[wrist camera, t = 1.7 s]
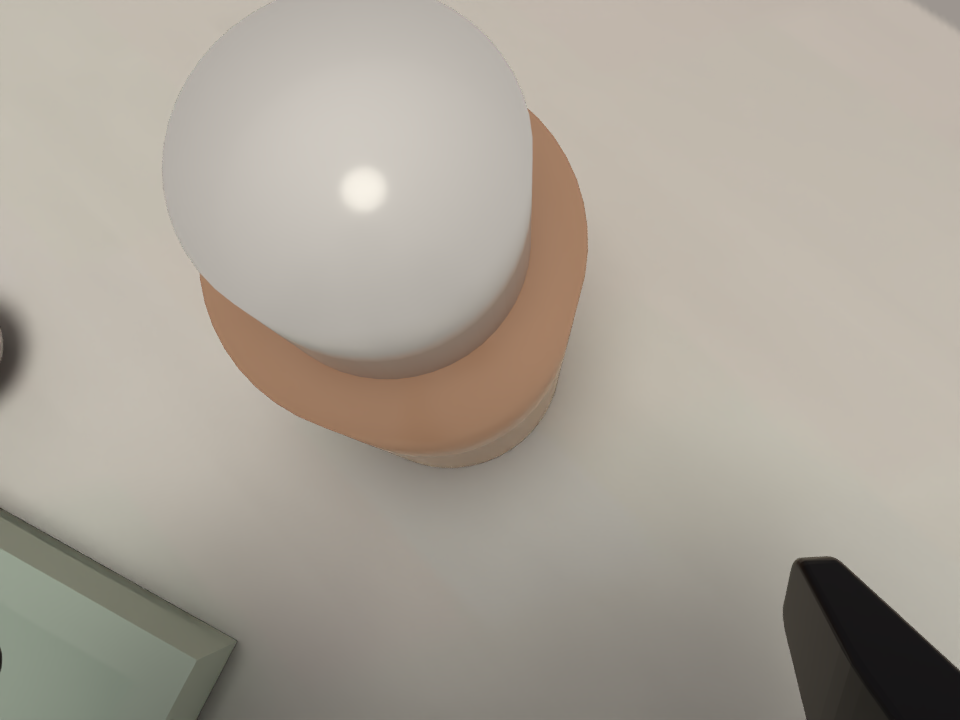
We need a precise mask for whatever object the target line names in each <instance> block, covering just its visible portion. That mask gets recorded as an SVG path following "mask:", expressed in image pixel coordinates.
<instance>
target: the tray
mask: <svg viewBox="0 0 960 720" xmlns="http://www.w3.org/2000/svg"><path fill="white" fill-rule="evenodd" d="M236 643H237V641H236V640H235V639H233V638H231V637H229V636H227V635H226V634H224V633H222V632H220V631H218V630H217V629H215V628H213V627H211V626H210V625H208V624H206V623H204V622H202V621H201V620H199V619H197V618H195V617H193V616H192V615H190V614H188V613H186V612H185V611H183V610H181V609H179V608H177V607H176V606H174V605H172V604H170V603H169V602H167V601H165V600H163V599H161V598H160V597H158V596H156V595H154V594H152V593H151V592H149V591H147V590H145V589H144V588H142V587H140V586H138V585H136V584H135V583H133V582H131V581H129V580H127V579H126V578H124V577H122V576H120V575H119V574H117V573H115V572H113V571H111V570H110V569H108V568H106V567H104V566H103V565H101V564H99V563H97V562H95V561H94V560H92V559H90V558H88V557H86V556H85V555H83V554H81V553H79V552H78V551H76V550H74V549H72V548H70V547H69V546H67V545H65V544H63V543H61V542H60V541H58V540H56V539H54V538H53V537H51V536H49V535H47V534H45V533H44V532H42V531H40V530H38V529H37V528H35V527H33V526H31V525H29V524H28V523H26V522H24V521H22V520H20V519H19V518H17V517H15V516H13V515H12V514H10V513H8V512H6V511H4V510H3V509H1V508H0V647H1V651H2V668H1V672H0V720H196V719H197V717H198V715H199V713H200V711H201V709H202V707H203V705H204V703H205V701H206V700H207V698H208V696H209V694H210V692H211V690H212V688H213V686H214V684H215V682H216V681H217V679H218V677H219V675H220V673H221V671H222V669H223V667H224V665H225V663H226V662H227V660H228V658H229V656H230V654H231V652H232V650H233V648H234V646H235V644H236Z"/></svg>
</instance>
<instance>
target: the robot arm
mask: <svg viewBox="0 0 960 720" xmlns="http://www.w3.org/2000/svg"><path fill="white" fill-rule="evenodd" d="M783 621H784V628H785V632H786V636H787V641H788V645H789V649H790V653H791V657H792V661H793V665H794V670H795V674H796V678H797V682H798V686H799V690H800V694H801V699H802V703H803V707H804V711H805V715H806V719H807V720H960V670H959V669H958V668H957V667H955V666H954V665H953V664H952V663H951V662H950V661H949V660H948V659H947V658H946V657H945V656H943V655H942V654H941V653H940V652H939V651H938V650H937V649H936V648H935V647H934V646H933V645H931V644H930V643H929V642H928V641H927V640H926V639H925V638H924V637H923V636H922V635H921V634H919V633H918V632H917V631H916V630H915V629H914V628H913V627H912V626H911V625H910V624H909V623H907V622H906V621H905V620H904V619H903V618H902V617H901V616H900V615H899V614H898V613H897V612H895V611H894V610H893V609H892V608H891V607H890V606H889V605H888V604H887V603H886V602H885V601H883V600H882V599H881V598H880V597H879V596H878V595H877V594H876V593H875V592H874V591H873V590H871V589H870V588H869V587H868V586H867V585H866V584H865V583H864V582H863V581H862V580H861V579H859V578H858V577H857V576H856V575H855V574H854V573H853V572H852V571H851V570H850V569H848V568H847V567H846V566H845V565H844V564H843V563H842V562H841V561H839V560H838V559H836V558H833V557H828V556H824V557H805V558H798V559H797V560H795V561H794V563H793V565H792V568H791V572H790V577H789V581H788V586H787V591H786V596H785V600H784V605H783ZM1 668H2V651H1V647H0V672H1Z"/></svg>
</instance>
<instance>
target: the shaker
mask: <svg viewBox="0 0 960 720" xmlns="http://www.w3.org/2000/svg"><path fill="white" fill-rule="evenodd" d="M162 176H163V190H164V195H165V200H166V206H167V211H168V214H169V217H170V220H171V222H172V225H173V228H174V231H175V234H176V236H177V237H178V239H179V241H180V243H181V245H182V247H183V249H184V251H185V253H186V254H187V256H188V257H189V259H190V260H191V262H192V263H193V264H194V266H195V267H196V269H197V270H198V271H199V273H200V281H201V286H202V291H203V296H204V301H205V305H206V308H207V310H208V313H209V316H210V319H211V322H212V325H213V327H214V329H215V331H216V333H217V335H218V337H219V339H220V341H221V343H222V345H223V347H224V349H225V350H226V351H227V353H228V354H229V356H230V357H231V359H232V360H233V361H234V363H235V364H236V366H237V367H238V368H239V370H240V371H241V372H242V373H243V374H244V375H245V376H246V377H247V378H248V379H249V380H250V381H251V382H252V383H253V385H254V386H255V387H256V388H258V389H259V390H260V391H261V392H263V393H264V394H265V395H266V396H268V397H269V398H270V399H271V400H273V401H274V402H275V403H277V404H278V405H280V406H282V407H283V408H285V409H286V410H288V411H290V412H291V413H293V414H295V415H296V416H298V417H301V418H303V419H305V420H308V421H310V422H312V423H315V424H317V425H319V426H322V427H324V428H327V429H330V430H332V431H335V432H337V433H340V434H343V435H345V436H348V437H350V438H353V439H356V440H358V441H361V442H363V443H366V444H369V445H371V446H374V447H376V448H379V449H382V450H384V451H387V452H389V453H392V454H395V455H397V456H400V457H402V458H405V459H408V460H410V461H413V462H416V463H420V464H423V465H427V466H433V467H441V468H459V467H467V466H473V465H477V464H480V463H484V462H487V461H489V460H492V459H494V458H497V457H499V456H501V455H502V454H504V453H506V452H508V451H509V450H511V449H512V448H514V447H515V446H516V445H518V444H519V443H520V442H522V441H523V440H524V439H525V438H526V437H527V436H528V435H529V434H530V433H531V432H532V431H533V430H534V428H535V427H536V426H537V425H538V423H539V422H540V421H541V419H542V418H543V416H544V414H545V413H546V411H547V409H548V407H549V405H550V403H551V401H552V398H553V396H554V393H555V390H556V386H557V382H558V378H559V374H560V370H561V367H562V363H563V359H564V355H565V351H566V347H567V343H568V339H569V336H570V332H571V328H572V324H573V320H574V316H575V312H576V308H577V304H578V301H579V297H580V293H581V289H582V285H583V281H584V277H585V270H586V262H587V253H588V238H587V221H586V215H585V208H584V202H583V199H582V195H581V192H580V189H579V185H578V182H577V179H576V177H575V174H574V172H573V170H572V168H571V166H570V163H569V161H568V159H567V157H566V155H565V154H564V152H563V151H562V149H561V147H560V146H559V144H558V143H557V141H556V139H555V138H554V136H553V135H552V134H551V133H550V132H549V130H548V129H547V128H546V127H545V126H544V124H543V123H542V122H541V121H540V120H539V118H538V117H536V116H535V115H534V114H533V113H532V112H531V111H530V110H529V109H528V108H527V105H526V102H525V99H524V95H523V92H522V90H521V88H520V85H519V83H518V81H517V79H516V77H515V74H514V72H513V71H512V69H511V67H510V66H509V64H508V63H507V61H506V59H505V58H504V56H503V55H502V53H501V52H500V51H499V50H498V48H497V47H496V46H495V45H494V44H493V42H492V41H491V40H490V39H489V38H488V36H487V35H485V34H484V33H483V32H482V31H481V30H480V29H479V28H478V27H477V26H475V25H474V24H473V23H472V22H471V21H470V20H468V19H467V18H466V17H464V16H463V15H461V14H460V13H458V12H457V11H455V10H454V9H452V8H451V7H449V6H447V5H445V4H443V3H441V2H439V1H437V0H275V1H273V2H271V3H269V4H267V5H266V6H264V7H262V8H260V9H258V10H256V11H254V12H253V13H251V14H250V15H248V16H247V17H245V18H244V19H243V20H241V21H240V22H238V23H237V24H235V25H234V26H233V27H232V28H230V29H229V30H228V31H227V32H226V33H225V34H224V35H223V36H222V37H220V38H219V39H218V40H217V41H216V42H215V43H214V44H213V45H212V46H211V48H210V49H209V50H208V51H207V52H206V53H205V54H204V56H203V57H202V58H201V59H200V60H199V62H198V63H197V65H196V66H195V68H194V69H193V71H192V72H191V74H190V75H189V77H188V78H187V80H186V82H185V84H184V86H183V88H182V90H181V91H180V93H179V95H178V97H177V99H176V102H175V105H174V108H173V110H172V113H171V116H170V119H169V122H168V127H167V131H166V136H165V140H164V147H163V160H162Z"/></svg>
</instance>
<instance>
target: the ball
mask: <svg viewBox="0 0 960 720" xmlns="http://www.w3.org/2000/svg"><path fill="white" fill-rule="evenodd" d="M2 354H3V336H2V332H1V328H0V362H1V358H2Z"/></svg>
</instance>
